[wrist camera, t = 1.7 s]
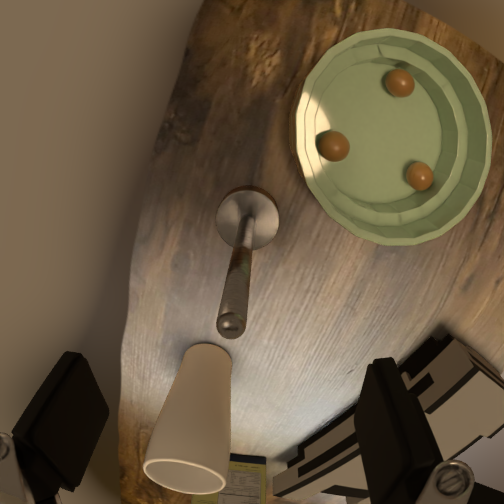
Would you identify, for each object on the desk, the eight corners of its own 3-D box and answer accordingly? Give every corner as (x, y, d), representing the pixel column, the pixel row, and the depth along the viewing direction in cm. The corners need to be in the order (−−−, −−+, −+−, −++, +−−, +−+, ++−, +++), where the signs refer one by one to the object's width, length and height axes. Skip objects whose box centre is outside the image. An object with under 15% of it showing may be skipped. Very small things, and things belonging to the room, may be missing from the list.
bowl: (285, 40, 21) (291, 17, 15) (451, 62, 20) (490, 55, 15) (289, 220, 27) (295, 247, 21) (445, 221, 26) (479, 244, 21)
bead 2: (380, 68, 21) (391, 64, 19) (406, 72, 21) (419, 69, 19) (381, 96, 22) (392, 95, 20) (407, 100, 22) (420, 99, 19)
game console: (272, 458, 42) (272, 502, 34) (441, 319, 31) (473, 366, 23) (361, 479, 46) (367, 514, 38) (501, 372, 35) (525, 407, 27)
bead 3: (402, 158, 24) (414, 163, 22) (426, 160, 24) (439, 165, 21) (400, 186, 25) (412, 193, 22) (424, 187, 25) (437, 194, 22)
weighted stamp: (217, 186, 26) (156, 276, 11) (278, 184, 26) (297, 275, 11) (220, 242, 28) (178, 375, 13) (278, 241, 28) (292, 377, 13)
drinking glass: (166, 345, 33) (124, 460, 19) (220, 327, 31) (196, 455, 18) (198, 385, 35) (174, 496, 21) (249, 371, 34) (242, 491, 20)
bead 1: (315, 130, 23) (321, 130, 21) (345, 131, 23) (353, 132, 21) (316, 159, 24) (321, 163, 22) (345, 160, 24) (353, 164, 22)
